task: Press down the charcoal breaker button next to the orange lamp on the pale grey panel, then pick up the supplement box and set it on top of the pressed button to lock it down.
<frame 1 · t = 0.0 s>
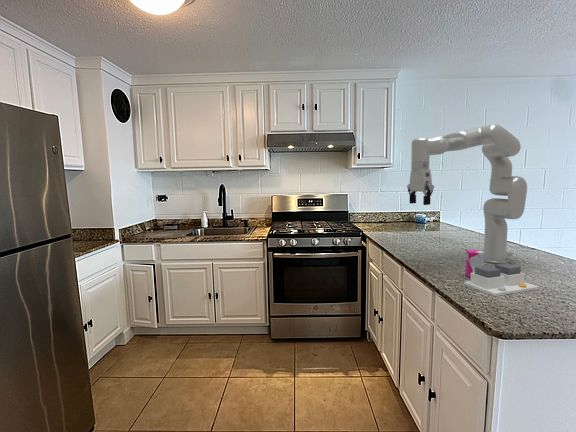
hand: (419, 204, 147), 31 cm above the table, tool pointing down, fingers open, 9 cm apart
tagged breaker: (507, 270, 127), point 5 cm above the table, slide at 0.0 cm
plain breaker: (487, 273, 125), point 6 cm above the table, slide at 0.0 cm
breaker panel: (500, 286, 125), on the table
supplement box: (474, 277, 138), on the table
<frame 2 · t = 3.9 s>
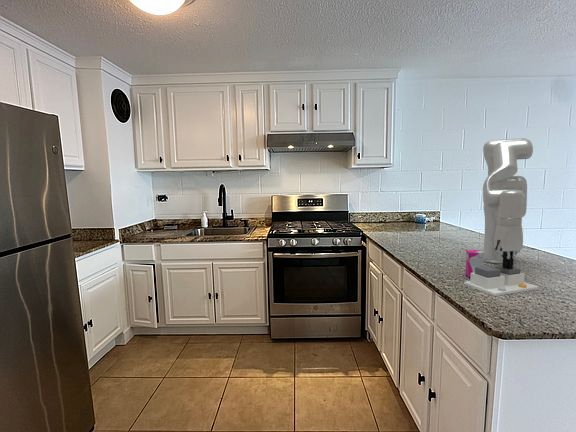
hand: (507, 267, 127), 7 cm above the table, tool pointing down, fingers closed
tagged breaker: (507, 272, 128), point 5 cm above the table, slide at 0.9 cm, touching gripper
everything else where it was.
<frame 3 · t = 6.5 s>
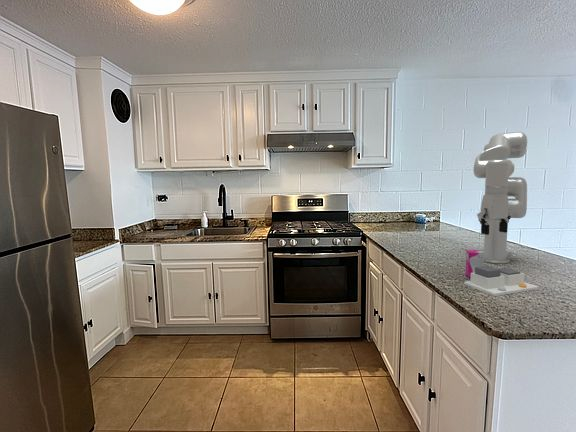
hand: (494, 233, 130), 20 cm above the table, tool pointing down, fingers open, 9 cm apart
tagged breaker: (507, 275, 128), point 3 cm above the table, slide at 2.0 cm
everything else where it was.
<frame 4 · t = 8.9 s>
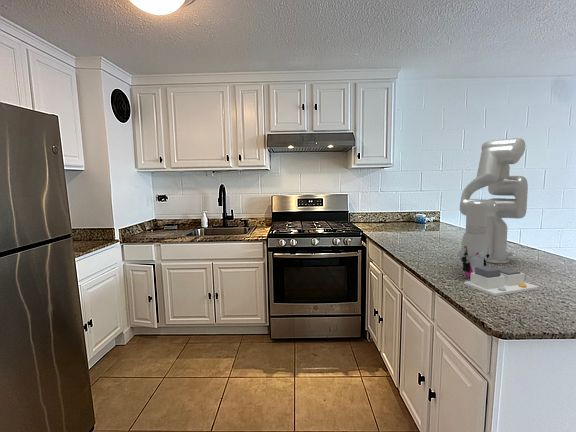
hand: (474, 270, 138), 3 cm above the table, tool pointing down, fingers closed on supplement box, 7 cm apart
supplement box: (473, 277, 138), on the table, touching gripper
everything else where it was.
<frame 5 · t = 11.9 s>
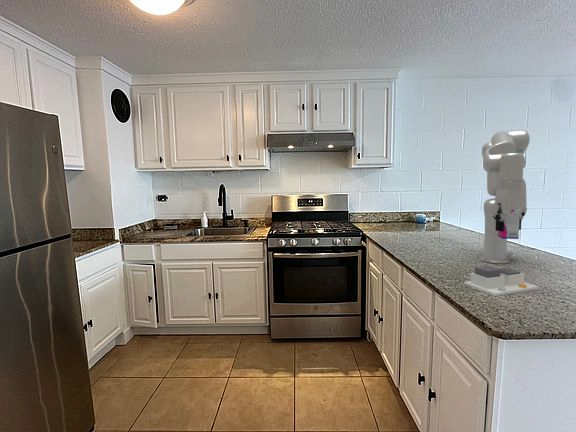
hand: (508, 230, 126), 22 cm above the table, tool pointing down, fingers closed on supplement box, 7 cm apart
supplement box: (507, 238, 126), point 19 cm above the table, touching gripper
everything else where it was.
when the fingers open (9 cm above the table, at t = 14.9 s): supplement box drops 1 cm, resting on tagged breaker.
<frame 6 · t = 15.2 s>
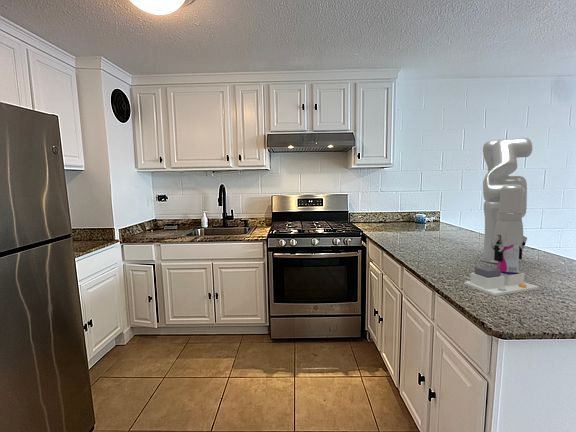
hand: (507, 259, 127), 10 cm above the table, tool pointing down, fingers open, 9 cm apart
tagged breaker: (507, 276, 128), point 3 cm above the table, slide at 2.5 cm, touching supplement box
supplement box: (507, 272, 128), point 5 cm above the table, touching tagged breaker
everything else where it was.
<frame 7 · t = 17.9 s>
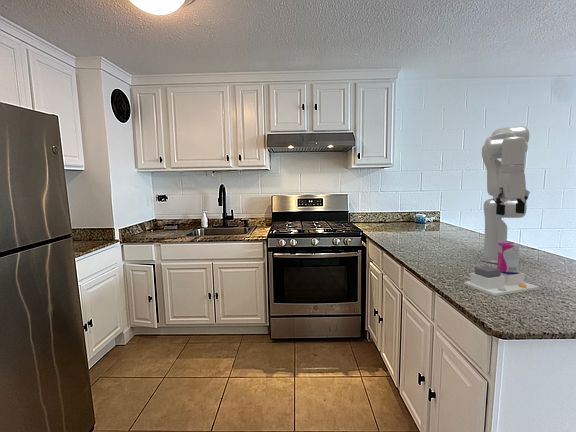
hand: (510, 214, 125), 28 cm above the table, tool pointing down, fingers open, 9 cm apart
nothing on the table moved.
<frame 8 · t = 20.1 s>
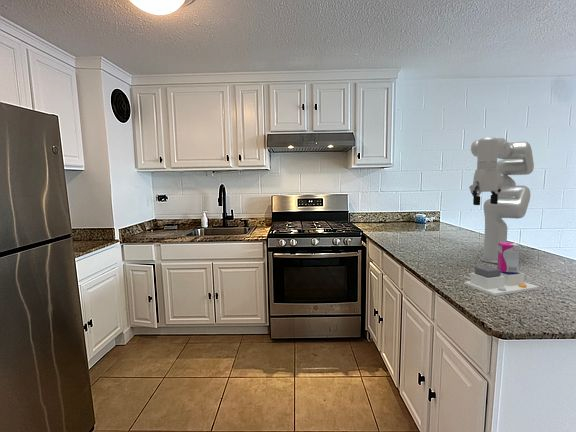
hand: (485, 204, 144), 30 cm above the table, tool pointing down, fingers open, 9 cm apart
nothing on the table moved.
at the end: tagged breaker slide at 2.5 cm; supplement box 0.3 cm off-centre on the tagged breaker, point 7.3 cm above the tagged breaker's base; supplement box tilted 0° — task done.
